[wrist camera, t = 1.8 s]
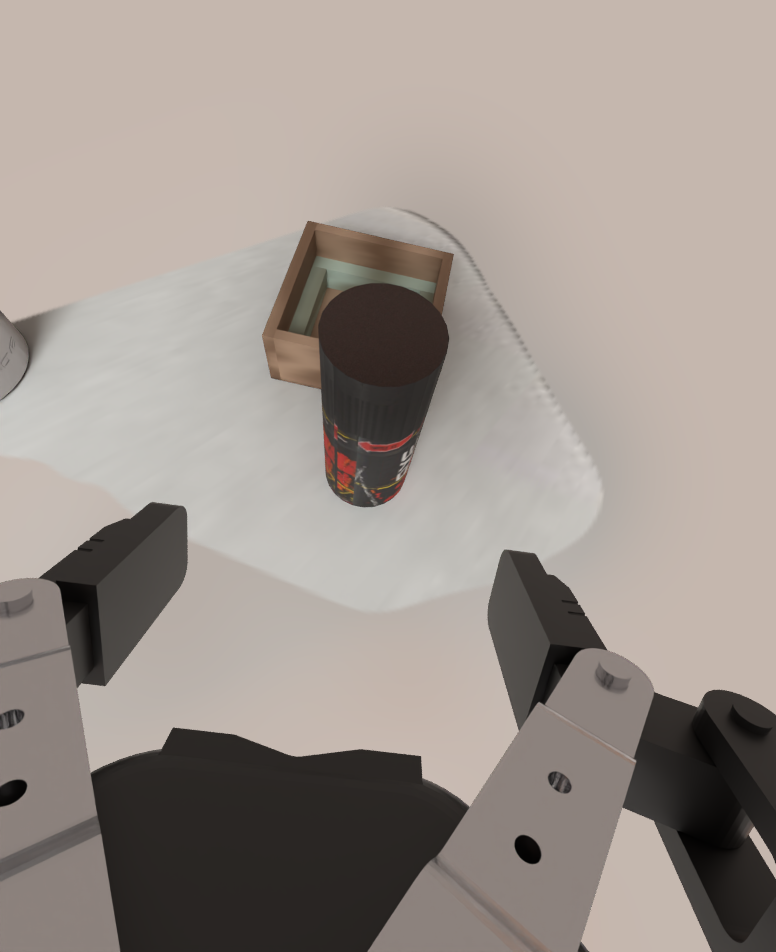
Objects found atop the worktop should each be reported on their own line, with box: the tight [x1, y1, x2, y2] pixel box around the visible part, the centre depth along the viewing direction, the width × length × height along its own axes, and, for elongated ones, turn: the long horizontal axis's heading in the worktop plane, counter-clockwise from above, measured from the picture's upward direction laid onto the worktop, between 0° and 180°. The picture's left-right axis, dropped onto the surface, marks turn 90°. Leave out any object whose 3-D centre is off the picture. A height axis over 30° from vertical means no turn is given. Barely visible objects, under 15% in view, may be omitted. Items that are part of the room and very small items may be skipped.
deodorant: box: [318, 283, 449, 507], centre depth 28 cm, size 6×6×15 cm
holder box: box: [262, 221, 454, 389], centre depth 38 cm, size 12×12×5 cm
